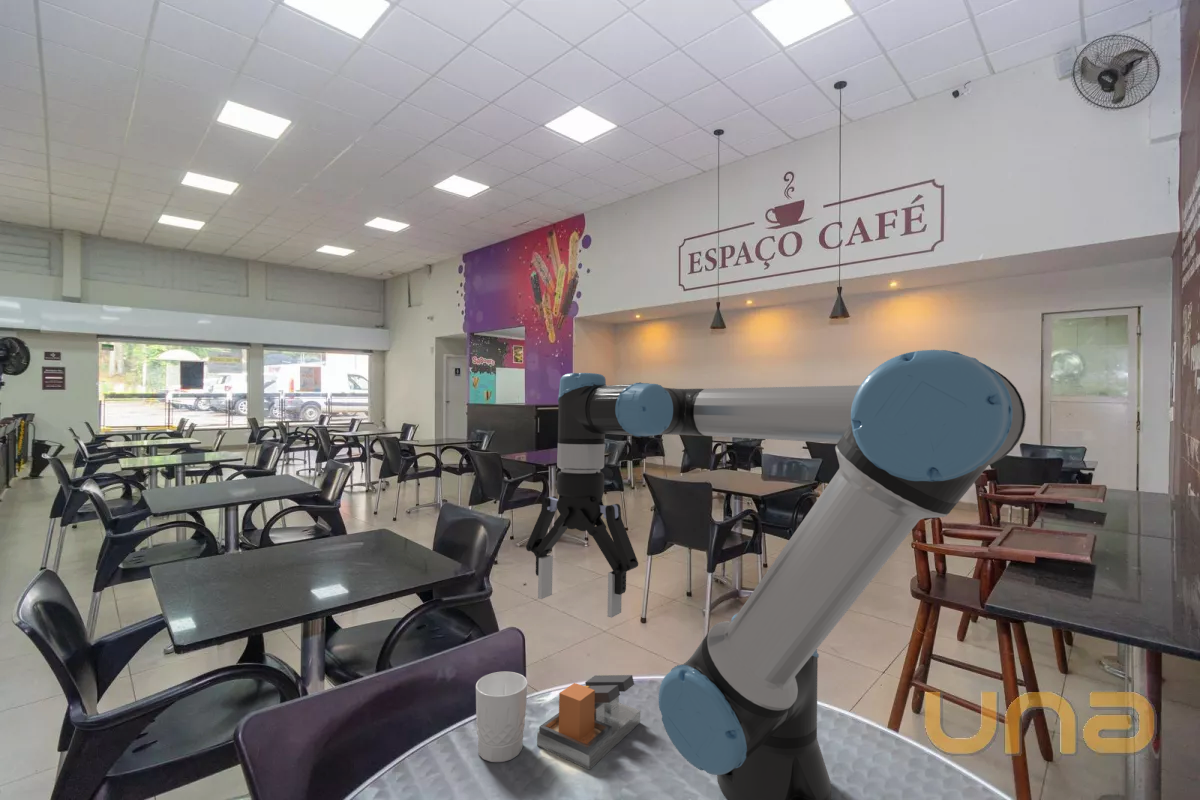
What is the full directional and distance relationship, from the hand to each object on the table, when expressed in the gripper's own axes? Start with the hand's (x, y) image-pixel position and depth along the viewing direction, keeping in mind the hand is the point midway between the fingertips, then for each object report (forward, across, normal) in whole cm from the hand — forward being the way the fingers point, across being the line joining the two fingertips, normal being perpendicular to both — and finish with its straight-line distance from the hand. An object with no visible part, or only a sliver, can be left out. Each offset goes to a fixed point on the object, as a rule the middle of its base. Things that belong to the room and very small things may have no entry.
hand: (578, 605), depth 84 cm
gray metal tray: (+22, 0, -4) cm, 22 cm away
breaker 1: (+17, 0, -10) cm, 19 cm away
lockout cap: (+20, 0, 0) cm, 20 cm away
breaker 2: (+17, 0, -5) cm, 18 cm away
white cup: (+22, +9, +7) cm, 25 cm away
